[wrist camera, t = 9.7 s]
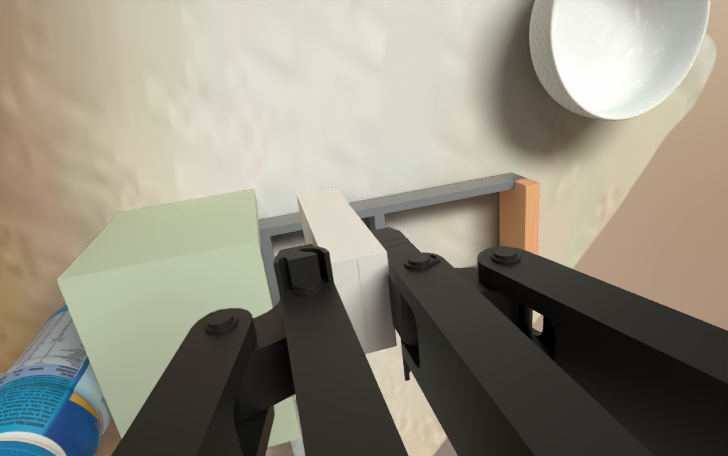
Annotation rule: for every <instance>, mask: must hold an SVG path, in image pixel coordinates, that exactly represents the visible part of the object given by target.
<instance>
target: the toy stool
mask: <svg viewBox="0 0 728 456" xmlns="http://www.w3.org/2000/svg"><path fill="white" fill-rule="evenodd" d="M57 282H58V285H59V287H60V290H61V292H62V295H63V297H64V299H65V302H66V304H67V307H68V309H69V312H70V314H71V317H72V319H73V322H74V324H75V326H76V329H77V331H78V334H79V336H80V339H81V341H82V344H83V346H84V348H85V351H86V353H87V356H88V358H89V361H90V363H91V366H92V368H93V370H94V373H95V375H96V378H97V380H98V383H99V385H100V388H101V390H102V393H103V395H104V397H105V400H106V402H107V405H108V407H109V410H110V412H111V415H112V417H113V419H114V422H115V424H116V427H117V429H118V432H119V434H120V437H121V439H122V438H123V436H124V435H125V433H126V432H127V430H128V428H129V427H130V425H131V424H132V422H133V420H134V419H135V417H136V416H137V414H138V412H139V411H140V409H141V408H142V406H143V404H144V403H145V401H146V400H147V398H148V396H149V395H150V393H151V392H152V390H153V388H154V387H155V385H156V384H157V382H158V380H159V379H160V377H161V376H162V374H163V372H164V371H165V369H166V368H167V366H168V364H169V363H170V361H171V360H172V358H173V356H174V355H175V353H176V351H177V350H178V348H179V347H180V345H181V343H182V342H183V340H184V339H185V337H186V335H187V334H188V332H189V331H190V329H191V327H192V326H193V325H194V324H195V323H196V322H197V321H198V320H200V319H201V318H203V317H205V316H206V315H207V314H209V313H211V312H213V311H214V312H215V311H216V310H220V309H228V308H242V309H245V310H248V311H249V312H250V313H251V314H252V317H253V318H255V317H258V316H260V315H262V314H264V313H266V312H268V311H269V310H271V309H272V308H273V304H272V299H271V295H270V290H269V286H268V281H267V276H266V272H265V267H264V263H263V258H262V253H261V247H260V235H259V222H258V210H257V200H256V195H255V190H254V189H250V190H244V191H238V192H233V193H227V194H221V195H215V196H209V197H204V198H198V199H192V200H186V201H180V202H175V203H169V204H163V205H157V206H151V207H146V208H140V209H134V210H128V211H122V212H119V213H118V214H117V215H116V217H115V218H114V219H113V220H112V221H111V222H110V223H109V224H108V225H107V226H106V227H105V228H104V230H103V231H102V232H101V233H100V234H99V235H98V236H97V237H96V238H95V239H94V240H93V241H92V243H91V244H90V245H89V246H88V247H87V248H86V249H85V250H84V251H83V252H82V253H81V254H80V256H79V257H78V258H77V259H76V260H75V261H74V262H73V263H72V264H71V265H70V266H69V267H68V268H67V270H66V271H65V272H64V273H63V274H62V275H61V276H60V277H59V278H58V279H57ZM274 410H275V417H274V421H273V425H272V429H271V434H270V438H269V442H268V446H267V448H268V447H272V446H275V445H279V444H282V443H286V442H289V441H293V440H296V439H300V438H301V437H300V430H299V423H298V417H297V410H296V403H295V396H294V395H293V396H291V397H289V398H287V399H285V400H283V401H281V402H279V403H277V404H276V405H274Z"/></svg>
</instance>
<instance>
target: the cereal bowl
mask: <svg viewBox="0 0 728 456" xmlns="http://www.w3.org/2000/svg"><path fill="white" fill-rule="evenodd" d="M709 9H710V0H535V2H534V5H533V10H532V13H531V21H530V28H529V43H530V45H529V46H530V52H531V58H532V62H533V66H534V68H535V72H536V75H537V76H538V79H539V80H540V82H541V84H542V86H543V87H544V88H545V89H546V91H547V93H548V94H549V95H550V96H551V97H552V98H553V99H554V100H555V101H556V102H557V103H558V104H560V105H562V106H563V107H564V108H565V109H568V110H569V111H571V112H574V113H576V114H579V115H582V116H584V117H589V118H594V119H599V120H612V121H616V120H626V119H631V118H634V117H637V116H640V115H642V114H644V113H646V112H648V111H650V110H652V109H653V108H655V107H656V106H658V105H659V104H660V103H662V102H663V101H664V100H665V99H666V98H667V97H668V96H669V95H670V94H671V93H672V92H673V91H674V90H675V89H676V88H677V87H678V86H679V84H680V83H681V82H682V81H683V79H684V78H685V77H686V75H687V74H688V72H689V70H690V69H691V67H692V65H693V63H694V61H695V59H696V57H697V55H698V52H699V50H700V47H701V45H702V42H703V39H704V35H705V32H706V28H707V23H708V18H709Z"/></svg>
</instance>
